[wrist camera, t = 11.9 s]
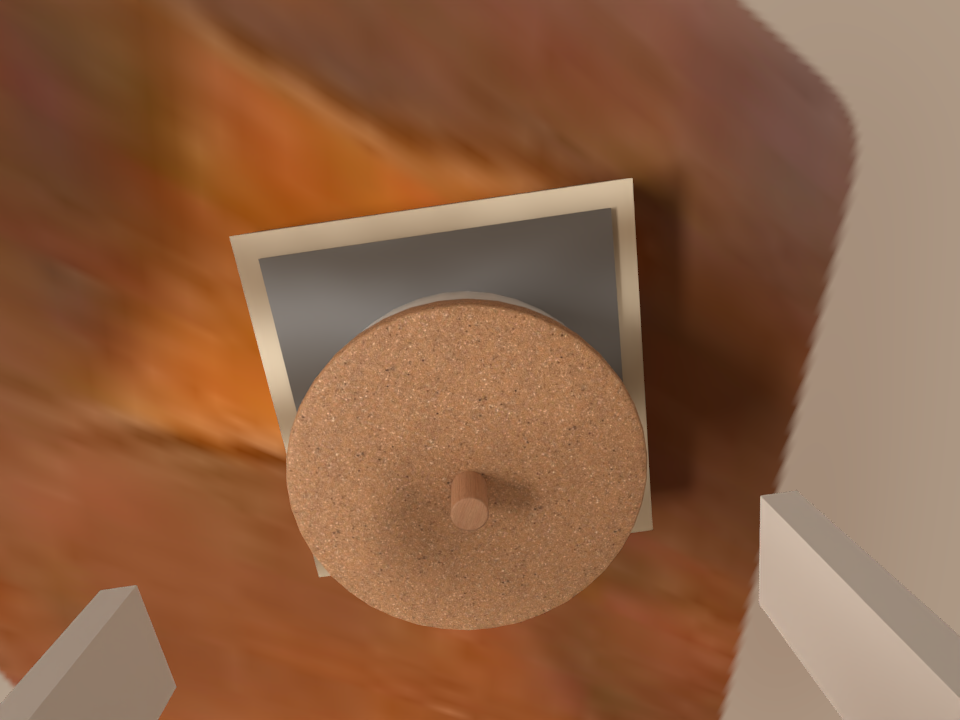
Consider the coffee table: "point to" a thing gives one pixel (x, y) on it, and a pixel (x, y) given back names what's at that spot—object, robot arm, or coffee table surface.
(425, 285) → the stand
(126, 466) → the coffee table surface
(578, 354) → the lidded jar
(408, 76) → the coffee table surface
